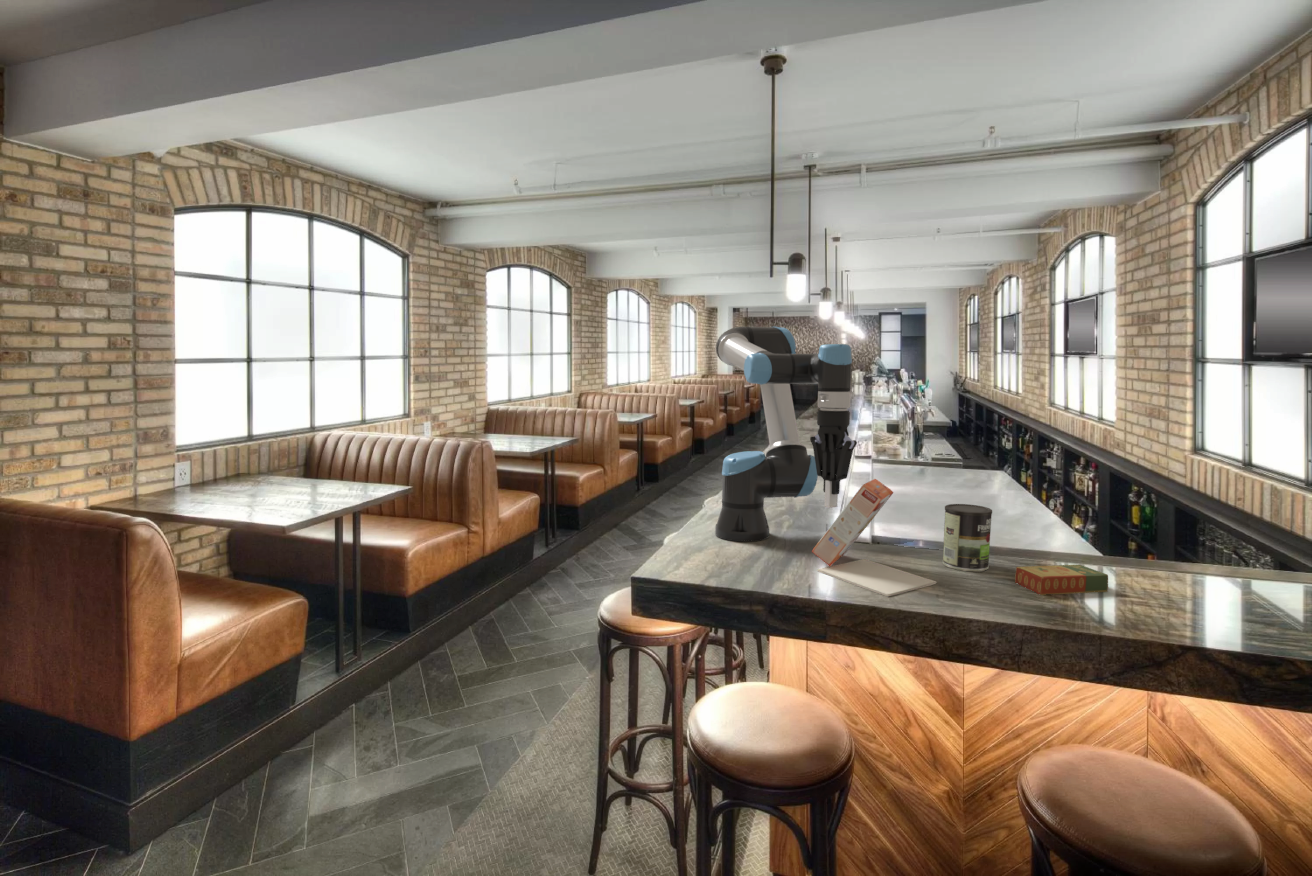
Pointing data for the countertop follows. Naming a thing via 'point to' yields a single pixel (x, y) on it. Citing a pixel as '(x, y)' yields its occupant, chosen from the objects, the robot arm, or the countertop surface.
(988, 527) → the coffee can
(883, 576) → the mat
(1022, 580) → the carton
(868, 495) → the cracker box
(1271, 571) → the countertop surface
